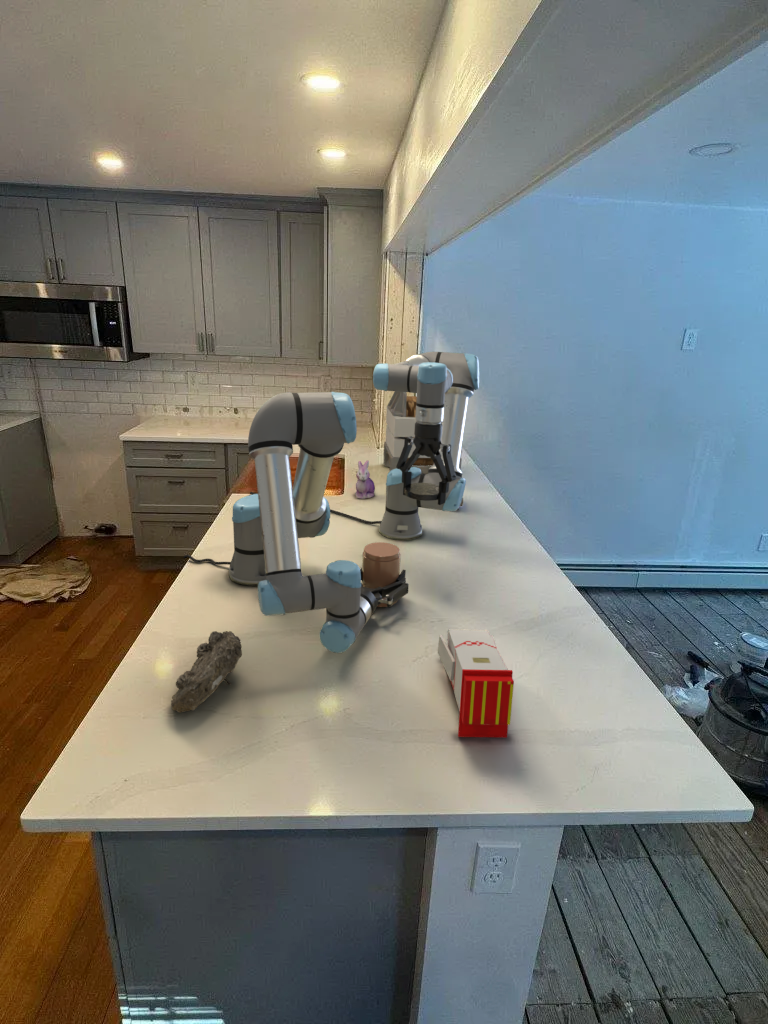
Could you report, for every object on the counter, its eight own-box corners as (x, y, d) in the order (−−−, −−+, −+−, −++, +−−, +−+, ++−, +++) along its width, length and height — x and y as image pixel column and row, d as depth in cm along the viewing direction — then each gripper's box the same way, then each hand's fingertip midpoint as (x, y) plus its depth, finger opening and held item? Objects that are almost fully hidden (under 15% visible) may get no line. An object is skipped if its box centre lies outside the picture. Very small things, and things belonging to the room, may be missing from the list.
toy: (488, 613, 130) (523, 677, 101) (484, 667, 133) (517, 744, 104) (435, 612, 130) (455, 676, 101) (432, 666, 133) (451, 743, 103)
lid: (452, 496, 159) (452, 491, 158) (420, 503, 153) (420, 497, 152) (427, 486, 167) (427, 480, 167) (396, 491, 161) (396, 486, 161)
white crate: (382, 463, 289) (386, 382, 275) (445, 464, 293) (451, 384, 279) (390, 482, 257) (394, 392, 243) (460, 483, 261) (468, 394, 247)
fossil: (194, 633, 127) (242, 602, 122) (224, 662, 130) (271, 633, 125) (149, 706, 107) (203, 673, 102) (185, 738, 110) (239, 707, 105)
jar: (361, 588, 160) (363, 540, 155) (397, 590, 160) (400, 542, 155) (360, 606, 150) (361, 556, 146) (398, 607, 151) (401, 557, 146)
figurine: (359, 500, 232) (360, 465, 227) (349, 493, 240) (350, 458, 235) (380, 498, 236) (381, 463, 231) (369, 490, 244) (370, 457, 239)
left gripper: (314, 612, 141) (346, 576, 161) (402, 630, 135) (424, 590, 155) (314, 585, 139) (347, 551, 159) (403, 603, 133) (426, 565, 153)
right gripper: (385, 417, 157) (382, 492, 164) (459, 431, 143) (452, 512, 151) (401, 414, 162) (397, 486, 170) (474, 426, 149) (466, 505, 157)
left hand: (385, 570), depth 157 cm, fingers closed on jar, 10 cm apart
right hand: (423, 498), depth 160 cm, fingers closed on lid, 11 cm apart
